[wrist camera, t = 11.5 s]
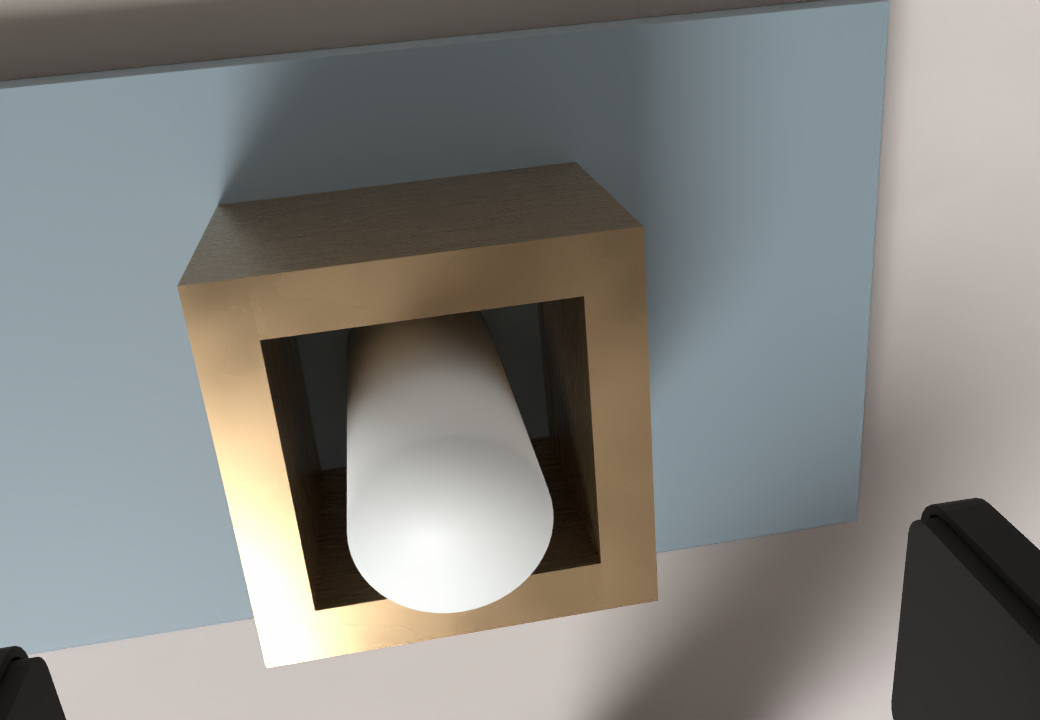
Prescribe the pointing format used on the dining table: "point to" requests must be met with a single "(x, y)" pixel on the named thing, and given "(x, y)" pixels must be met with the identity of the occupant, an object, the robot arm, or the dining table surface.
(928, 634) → the robot arm
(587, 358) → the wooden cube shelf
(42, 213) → the post board
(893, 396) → the dining table surface
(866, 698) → the dining table surface
